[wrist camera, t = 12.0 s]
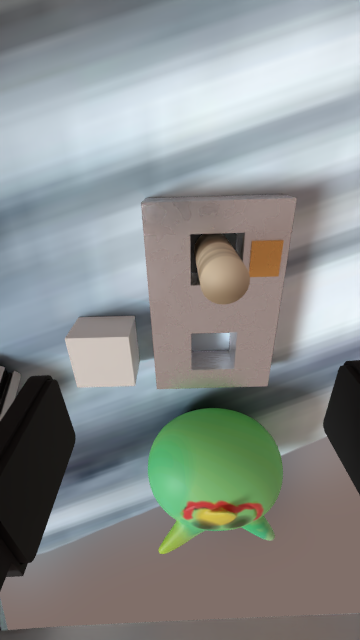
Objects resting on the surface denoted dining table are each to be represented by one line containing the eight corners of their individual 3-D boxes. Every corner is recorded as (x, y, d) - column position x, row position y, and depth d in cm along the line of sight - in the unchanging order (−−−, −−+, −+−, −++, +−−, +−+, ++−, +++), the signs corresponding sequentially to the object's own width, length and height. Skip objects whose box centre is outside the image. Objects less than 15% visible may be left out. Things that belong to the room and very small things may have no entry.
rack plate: (145, 198, 29) (140, 202, 25) (282, 194, 29) (297, 198, 25) (158, 369, 40) (156, 390, 36) (259, 366, 40) (267, 387, 36)
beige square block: (78, 317, 36) (64, 338, 31) (134, 315, 36) (128, 336, 31) (88, 362, 39) (77, 387, 35) (139, 361, 39) (135, 385, 35)
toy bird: (273, 387, 41) (317, 487, 28) (258, 461, 49) (286, 566, 37) (149, 387, 41) (137, 488, 28) (154, 462, 49) (146, 567, 36)
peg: (193, 231, 31) (200, 258, 22) (230, 230, 31) (252, 256, 22) (193, 267, 33) (200, 305, 24) (228, 266, 33) (247, 303, 24)
